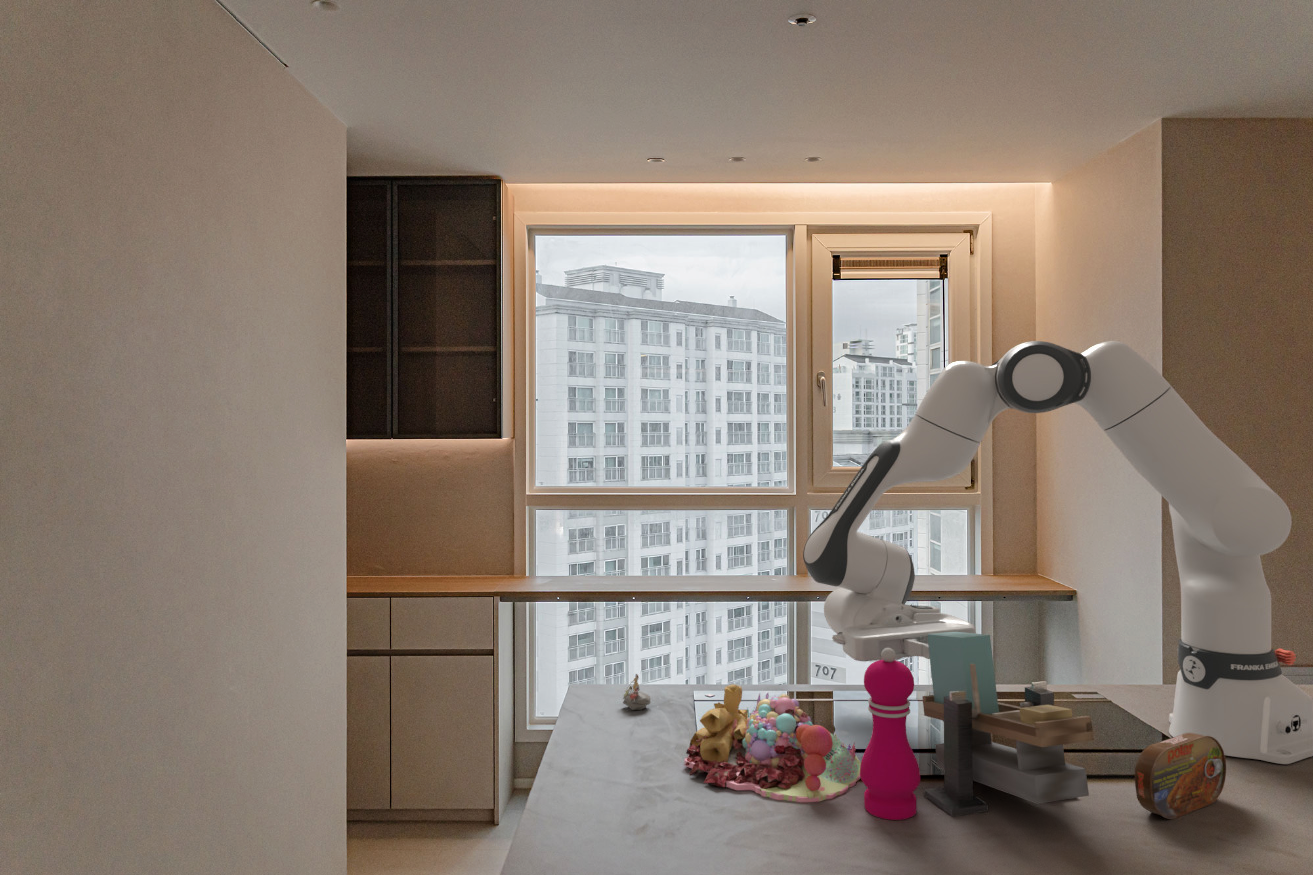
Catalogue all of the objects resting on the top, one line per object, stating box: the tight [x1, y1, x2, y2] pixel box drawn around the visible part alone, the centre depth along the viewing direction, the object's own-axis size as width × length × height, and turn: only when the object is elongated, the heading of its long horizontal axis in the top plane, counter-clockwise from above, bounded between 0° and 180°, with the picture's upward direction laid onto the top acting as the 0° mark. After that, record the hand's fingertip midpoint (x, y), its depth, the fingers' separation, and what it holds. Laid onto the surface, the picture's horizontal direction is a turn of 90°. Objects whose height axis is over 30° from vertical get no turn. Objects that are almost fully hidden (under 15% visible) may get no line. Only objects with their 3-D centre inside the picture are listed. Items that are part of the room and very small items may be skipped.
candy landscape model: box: [684, 683, 861, 803], centre depth 122 cm, size 25×24×9 cm
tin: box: [1134, 733, 1227, 820], centre depth 106 cm, size 15×3×8 cm, turn 117°
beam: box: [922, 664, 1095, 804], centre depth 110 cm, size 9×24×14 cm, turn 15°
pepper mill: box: [860, 648, 921, 821], centre depth 107 cm, size 7×7×20 cm
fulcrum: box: [923, 680, 1055, 817], centre depth 110 cm, size 18×6×14 cm, turn 105°
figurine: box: [622, 673, 652, 711], centre depth 146 cm, size 5×4×6 cm
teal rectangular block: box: [927, 632, 999, 714], centre depth 117 cm, size 4×8×10 cm, turn 15°
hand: (938, 652), depth 123 cm, fingers closed
